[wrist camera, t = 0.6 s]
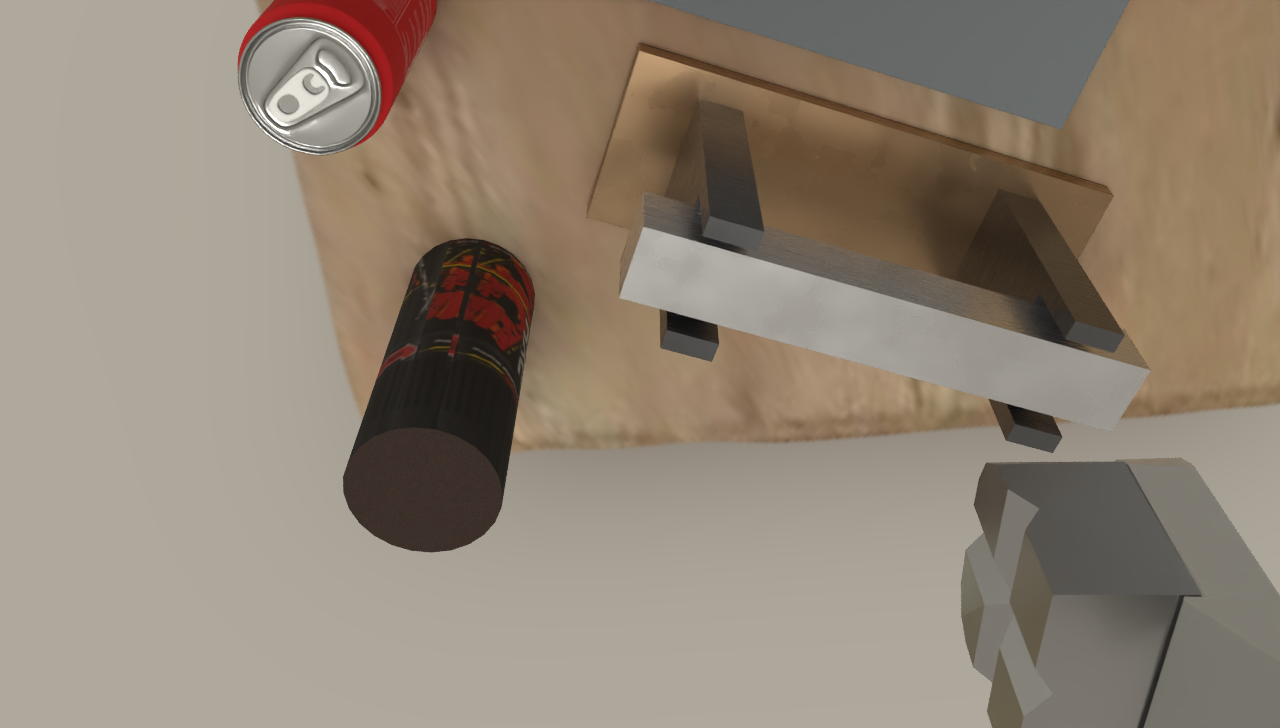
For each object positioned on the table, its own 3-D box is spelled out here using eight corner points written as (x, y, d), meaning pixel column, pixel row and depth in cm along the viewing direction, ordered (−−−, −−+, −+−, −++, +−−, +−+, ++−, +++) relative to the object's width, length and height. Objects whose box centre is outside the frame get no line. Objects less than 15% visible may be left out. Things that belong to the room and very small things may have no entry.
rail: (620, 259, 47) (618, 297, 44) (643, 190, 45) (643, 226, 43) (1087, 389, 50) (1111, 431, 47) (1124, 329, 48) (1150, 370, 46)
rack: (639, 42, 51) (637, 161, 41) (1106, 186, 55) (1215, 329, 44) (587, 207, 56) (573, 353, 45) (1025, 331, 59) (1106, 494, 48)
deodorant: (551, 331, 59) (524, 534, 47) (436, 359, 60) (379, 565, 47) (510, 225, 56) (470, 411, 43) (390, 256, 57) (316, 447, 44)
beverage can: (466, 0, 51) (420, 105, 40) (374, 72, 52) (309, 189, 42) (380, -105, 48) (310, -23, 38) (287, -27, 50) (196, 72, 40)
